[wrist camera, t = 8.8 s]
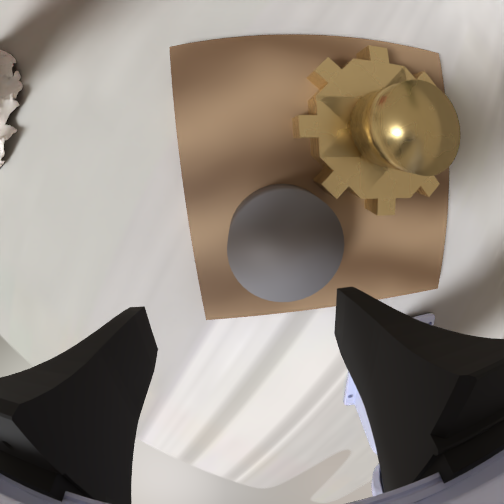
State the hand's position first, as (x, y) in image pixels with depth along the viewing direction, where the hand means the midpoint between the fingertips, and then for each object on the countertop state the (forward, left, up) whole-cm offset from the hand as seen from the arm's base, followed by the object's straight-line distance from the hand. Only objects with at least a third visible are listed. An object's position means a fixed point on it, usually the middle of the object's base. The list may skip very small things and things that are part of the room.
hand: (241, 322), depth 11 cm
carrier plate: (+4, -6, -9) cm, 12 cm away
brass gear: (+7, -9, -8) cm, 14 cm away
